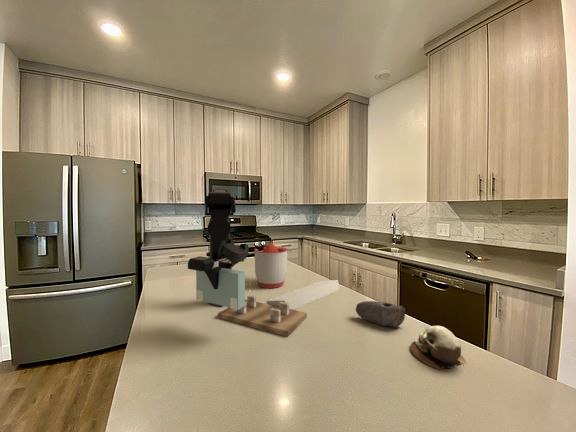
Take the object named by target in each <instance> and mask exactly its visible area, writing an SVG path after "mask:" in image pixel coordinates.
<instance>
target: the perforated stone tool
mask: <svg viewBox="0 0 576 432" xmlns="http://www.w3.org/2000/svg"><path fill="white" fill-rule="evenodd" d="M355 312H356V314H357V316H359V317H360V318H361V319H363V320H365V321H368V322H371V323H373V324H376V325H379V326H382V327H383V326H384V327H386V326H387V327H388V326H390V327H392V328H393V329H394V328H397V327H399V326H401V325H402V324H403V323H404V321H405V317H406V308H404V306H403V305H399V304H394V303H391V302H387V301H386V302H384V301H377V300H374V301H373V300H372V301H371V300H367V301H361V302H359V303H357V304H356V307H355Z"/></svg>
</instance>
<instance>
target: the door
mask: <svg viewBox="0 0 576 432" xmlns="http://www.w3.org/2000/svg"><path fill="white" fill-rule="evenodd" d="M195 277H196V280H195V282H196V284H195V285H196V290H195V291H196V293H195V295H196V297H195V298H196V301H201V302H205V303H208V302H209V303H213V304H217V305H221V306H222V307H226V308H228V307H229V308H232V309H236V310H239V309H241V308H242V307H244V306H245V299H246V272H245V271H244V270H238V269H226V268H222V269H221V270H220V271H219V278H218V289H214V288H213V286H212V284H211V282H210V280H209V278H208V276H207V275H206V273H205V272H204V271H197V270H195Z"/></svg>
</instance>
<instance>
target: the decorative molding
mask: <svg viewBox="0 0 576 432" xmlns="http://www.w3.org/2000/svg"><path fill="white" fill-rule="evenodd" d="M338 290H339V291H340V284H339V280H338V279H333V280H332V279H331V280H319V281H317V282H314V283H311V284H309V285H308V284H307V286H303V287H301V288H298V289H294V290H291V291H289V292H286V293H284V294H281V295H278V296H276V297H271V299H267V300H266V304H269V305H273V306H278V307H279V303H280V302H285V303H289V309H292V310H296V311H297V310H298V309H301V308H302V307H305V306H307V305H309V304H311V303H314V302H316V301H318V299H319V300H321V299H323V298H325V297H327V296H329V294H330V295H332V294H334V293H336V292H338ZM331 293H332V294H331ZM322 297H323V298H322ZM320 298H321V299H320Z"/></svg>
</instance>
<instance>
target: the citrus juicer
mask: <svg viewBox="0 0 576 432" xmlns="http://www.w3.org/2000/svg"><path fill="white" fill-rule="evenodd" d="M259 250H260V249H258V248H254V256H253V259H254V273H255V279H256V282H257V284H258V286H259V287H262V288H267V289H276V288H279V287H282V286H283V285H284V282H285V280H286V276H287V270H288V269H287V268H288V248H286V247H281V246H276V245H275V244H274V243H273V242H269V243H268V245H267V246H263V249H262V250H263V251H259Z"/></svg>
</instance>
